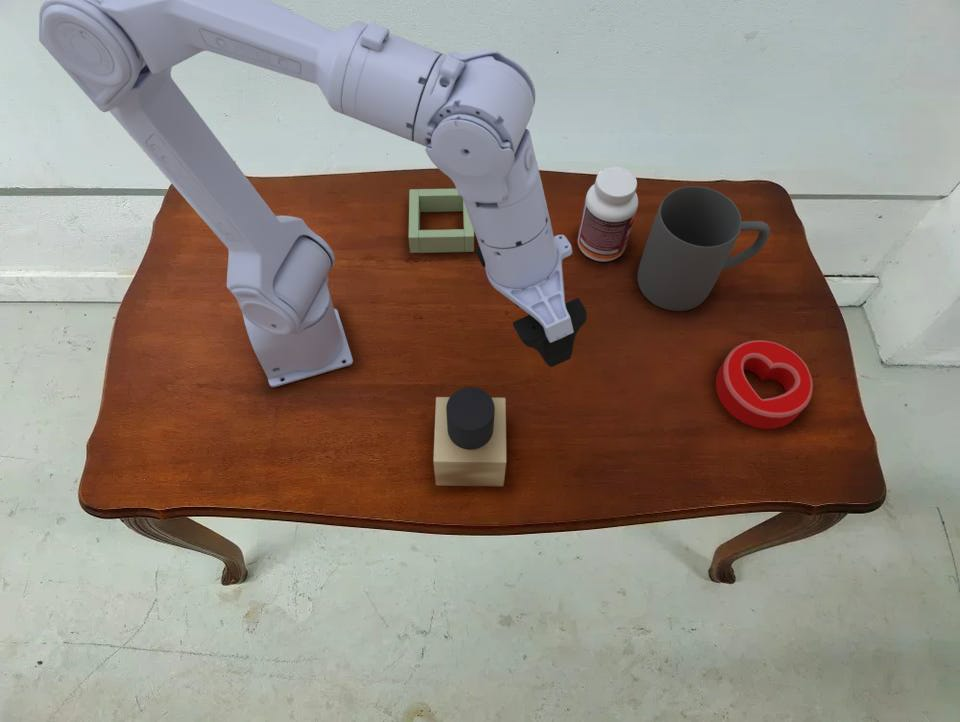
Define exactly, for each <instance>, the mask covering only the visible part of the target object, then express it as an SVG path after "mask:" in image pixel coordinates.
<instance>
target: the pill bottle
mask: <svg viewBox="0 0 960 722" xmlns="http://www.w3.org/2000/svg"><path fill="white" fill-rule="evenodd" d="M637 187H638V181H637V178H636V176H635V175H634V173H633V172H631V171H630V170H628V169H626V168H624V167H621V166H608V167H606V168H603V169H602V170H600V171H599V172H598V173H597V175H596V178H595V181H594V184H592V185H591V186H590V187H589V189H588V191H587V192H586V196H585V198H584V203H583V208H582V209H583V210H582V215H581V219H580V224H579V229H578V233H577V246H578V248H579V250H580V251H581V253H582V254H583V255H584V256H585V257H587V258H588V259H590V260H593V261H596V262H603V263H605V262H612V261H614V260H617V259H618V258H620V257H621V256H622V255H623V254H624V252H625V250H626V248H627V245H628V241H629V238H630V234H631V231H632V227H633V224H634V220H635V217H636V215H637V210H638V206H639V196H638V194H637V192H636V191H637Z"/></svg>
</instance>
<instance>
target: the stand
mask: <svg viewBox="0 0 960 722" xmlns="http://www.w3.org/2000/svg"><path fill="white" fill-rule="evenodd" d="M449 398H450V396H436V397H435V413H434V417H435V418H434V437H433V461H432V463H433V471H434V480H435V486H437V487H438V486H439V487H440V486H443V487H445V486H446V487H504V484H505V478H506V469H507V408H506V407H507V405H506V404H507V403H506V397H491V398H492V400H493V402H494V406H495V413H494V427H493V434H492V437H491V439H490V440H489V441H488V443H487V444H485V445H484V446H482V447H480V448H478V449H472V450H468V449H463V448H460V447H458V446H457V445H455V444H454V443H453V442H452V441H451V439H450V437H449V435H448V430H447V414H446V406H447V402H448V400H449Z"/></svg>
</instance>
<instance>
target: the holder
mask: <svg viewBox="0 0 960 722" xmlns="http://www.w3.org/2000/svg"><path fill="white" fill-rule="evenodd" d="M408 194H409V195H408V196H409V197H408V245H409V253H410V254H425V253H426V254H433V253H474V252H475V232H474V229H473V226H472V224H471V221H470V218H469V215H468V212H467V209H466V206H465V204H464V201H463V198H462V196H461V195H458V192H457V189H456V188H417V189H412V188H411V189H409V193H408ZM442 212H443V213H445V212H446V213H448V212H449V213H450V212H451V213H452V212H455V213H456V212H462V218H463V220H462V222H463V228H461V229H460V228H459V229H455V228H453V229H421V213H442Z"/></svg>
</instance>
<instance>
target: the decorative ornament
mask: <svg viewBox="0 0 960 722" xmlns="http://www.w3.org/2000/svg"><path fill="white" fill-rule="evenodd" d="M745 371H750V372H752V373H753V374H755V375H756V376H757V377H758V378H759V379H760V381H761V382H763V381H768V380H770V381H771V380H772V381H776V382H778V383H779V384H780V385H782V387H783V390H784V393H782V394H779V395H777V396H773V397H768V398H761V397H760V396H759V395H758V393H757V392H756V391H755V389H754V387H752V385H751V384H750V382H749V381H748V379H747V376H746V374H745ZM813 383H814V382H813V377H812V375H811V371H810V370H809V368H808V366H807V364H806V363H805V361H804V360H803V359H802V358H801V357H800V356H799V355H798V354H797V353H796V352H794V351H793V350H792V349H790V348H788V347H786V346H784V345H782V344H780V343H777V342H774V341H769V340H761V339H759V340H758V339H755V340H749V341H745V342H742V343H741V344H738V345H737V346H735V347H734V348H733V349H732V350H730V352H729V353H728V354H727V355H726V357H725V359H724V360H723V362H722V363H721V365H720V367H719V369H718V370H717V373H716V376H715V388H716V389H715V390H716V393H717V397H718V399H719V402H720V403H721V404H722V406H723V407H724V409H725V410H726V411H727V412H728V413H729V414H730V415H731V416H733V417H734V418H735V419H736V420H738V421H739V422H740V423H743V424H744V425H746V426H749V427H753V428H757V429H764V430H766V429H767V430H770V429H771V430H772V429H778V428H783V427H785V426H786V425H788V424H790V423H792V422H793V421H794V420H795V419H796V418H797V417H798V416H799V415H800V414H801V413H802V412H803V411H804V410H805V409H806V407H807V406H808V405H809V403H810V401H811V399H812V396H813V390H814V384H813Z"/></svg>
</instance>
